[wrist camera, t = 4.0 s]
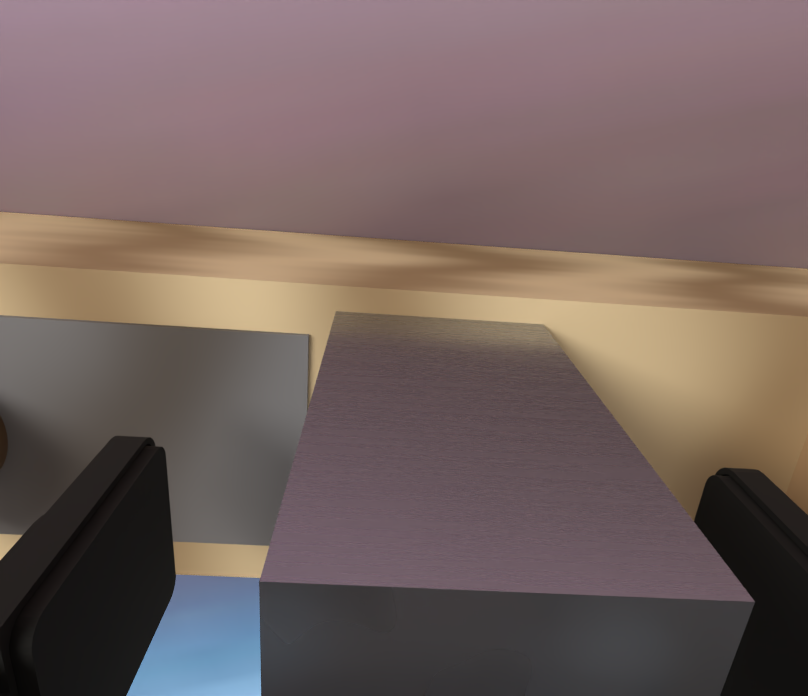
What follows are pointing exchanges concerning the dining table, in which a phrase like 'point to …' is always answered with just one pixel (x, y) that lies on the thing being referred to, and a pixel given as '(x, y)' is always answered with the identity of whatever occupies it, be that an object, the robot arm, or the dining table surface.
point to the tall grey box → (482, 531)
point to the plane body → (306, 341)
